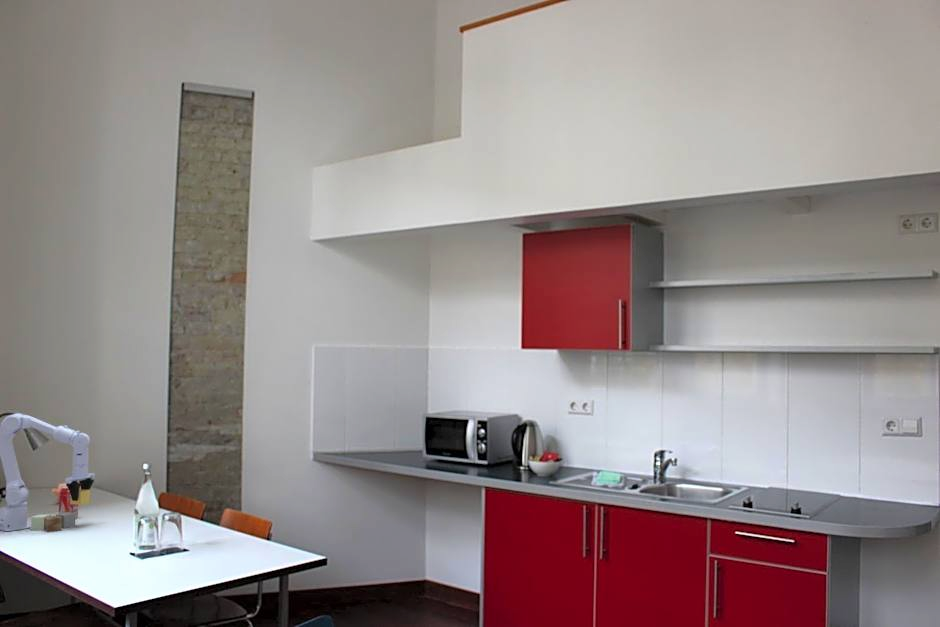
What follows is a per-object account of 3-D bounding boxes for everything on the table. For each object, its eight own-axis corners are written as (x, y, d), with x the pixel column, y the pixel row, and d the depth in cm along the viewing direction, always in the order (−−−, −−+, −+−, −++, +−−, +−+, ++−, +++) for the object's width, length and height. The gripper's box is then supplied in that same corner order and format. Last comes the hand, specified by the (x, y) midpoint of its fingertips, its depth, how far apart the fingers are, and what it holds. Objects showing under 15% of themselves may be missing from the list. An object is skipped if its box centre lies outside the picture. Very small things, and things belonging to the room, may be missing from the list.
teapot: (51, 505, 386) (51, 483, 387) (60, 500, 398) (60, 479, 399) (78, 505, 388) (79, 483, 388) (87, 500, 400) (87, 478, 400)
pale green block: (43, 530, 337) (44, 517, 337) (31, 530, 337) (31, 517, 337) (50, 527, 342) (50, 514, 342) (37, 527, 342) (38, 514, 342)
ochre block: (81, 504, 342) (81, 491, 342) (70, 504, 343) (70, 491, 343) (89, 502, 347) (90, 489, 347) (78, 501, 348) (79, 489, 348)
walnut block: (47, 532, 333) (47, 519, 333) (44, 530, 337) (44, 517, 337) (61, 531, 336) (61, 517, 336) (58, 528, 340) (59, 515, 340)
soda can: (81, 516, 362) (81, 485, 363) (71, 520, 355) (72, 488, 356) (64, 516, 363) (65, 484, 363) (55, 520, 356) (55, 487, 356)
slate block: (63, 528, 340) (64, 515, 340) (55, 527, 343) (55, 514, 343) (75, 526, 345) (75, 513, 345) (67, 524, 347) (67, 512, 347)
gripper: (76, 467, 337) (75, 503, 337) (101, 462, 351) (100, 496, 351) (60, 466, 339) (60, 502, 339) (86, 461, 353) (85, 495, 353)
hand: (79, 499), depth 345 cm, fingers closed on ochre block, 5 cm apart
